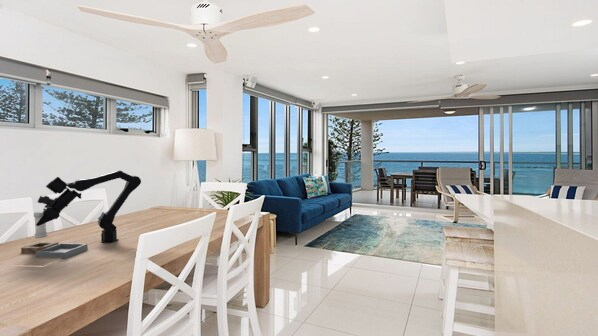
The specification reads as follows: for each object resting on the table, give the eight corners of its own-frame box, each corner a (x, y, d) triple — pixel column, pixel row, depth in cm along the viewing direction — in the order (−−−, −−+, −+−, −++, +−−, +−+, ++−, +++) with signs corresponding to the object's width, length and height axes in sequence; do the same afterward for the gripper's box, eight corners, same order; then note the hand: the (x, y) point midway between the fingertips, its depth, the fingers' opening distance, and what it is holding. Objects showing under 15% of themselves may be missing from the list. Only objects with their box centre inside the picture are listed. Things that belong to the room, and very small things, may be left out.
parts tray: (87, 249, 157) (87, 243, 157) (64, 258, 144) (64, 252, 143) (60, 248, 158) (60, 243, 158) (35, 258, 144) (35, 251, 144)
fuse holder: (58, 248, 160) (58, 242, 159) (41, 254, 150) (41, 248, 149) (39, 247, 160) (39, 241, 160) (21, 254, 150) (21, 247, 150)
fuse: (49, 235, 156) (48, 211, 156) (41, 238, 152) (40, 213, 151) (40, 235, 157) (39, 211, 156) (32, 238, 152) (30, 213, 151)
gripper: (49, 187, 163) (21, 211, 156) (49, 191, 148) (19, 217, 142) (68, 201, 168) (43, 225, 162) (70, 206, 153) (42, 232, 147)
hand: (36, 224), depth 153 cm, fingers closed on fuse, 4 cm apart
